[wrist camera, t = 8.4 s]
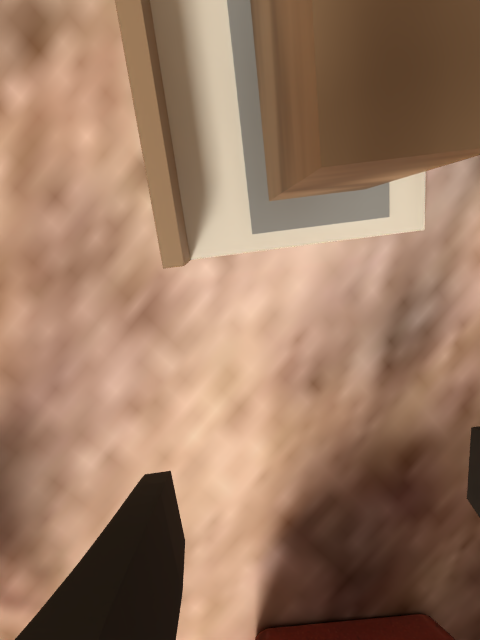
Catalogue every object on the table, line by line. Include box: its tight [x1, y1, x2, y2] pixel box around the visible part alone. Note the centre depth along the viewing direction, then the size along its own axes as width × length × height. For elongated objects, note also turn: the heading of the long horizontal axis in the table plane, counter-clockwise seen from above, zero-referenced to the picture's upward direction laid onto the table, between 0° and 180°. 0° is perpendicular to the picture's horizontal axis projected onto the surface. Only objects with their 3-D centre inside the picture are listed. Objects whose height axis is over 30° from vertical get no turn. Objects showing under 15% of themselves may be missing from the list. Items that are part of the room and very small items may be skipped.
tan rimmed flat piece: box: [115, 0, 426, 269], centre depth 13 cm, size 12×16×4 cm
